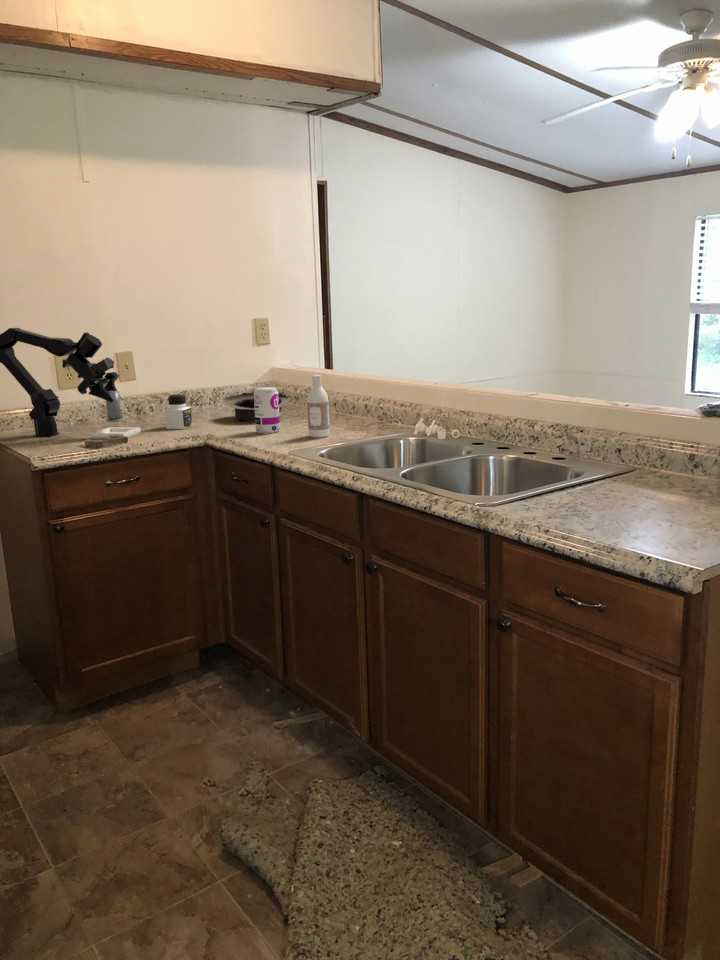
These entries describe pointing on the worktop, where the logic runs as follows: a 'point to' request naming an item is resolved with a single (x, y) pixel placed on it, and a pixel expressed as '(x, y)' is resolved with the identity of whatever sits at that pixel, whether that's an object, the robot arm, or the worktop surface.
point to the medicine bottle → (178, 413)
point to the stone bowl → (249, 405)
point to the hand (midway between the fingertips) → (116, 400)
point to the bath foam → (318, 410)
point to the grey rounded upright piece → (114, 408)
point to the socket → (107, 441)
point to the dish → (115, 432)
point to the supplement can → (266, 410)
